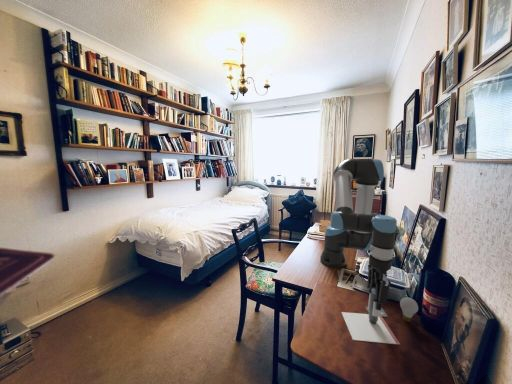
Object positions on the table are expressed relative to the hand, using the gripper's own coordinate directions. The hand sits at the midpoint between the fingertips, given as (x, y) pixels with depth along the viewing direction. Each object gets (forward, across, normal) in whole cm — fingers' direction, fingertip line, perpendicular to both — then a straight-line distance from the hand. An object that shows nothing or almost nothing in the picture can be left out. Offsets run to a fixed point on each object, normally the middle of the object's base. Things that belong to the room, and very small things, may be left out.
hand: (373, 312), depth 85 cm
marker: (+4, 0, 0) cm, 4 cm away
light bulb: (+5, -2, +14) cm, 15 cm away
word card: (+4, -6, +4) cm, 9 cm away
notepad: (+5, +3, -3) cm, 6 cm away
